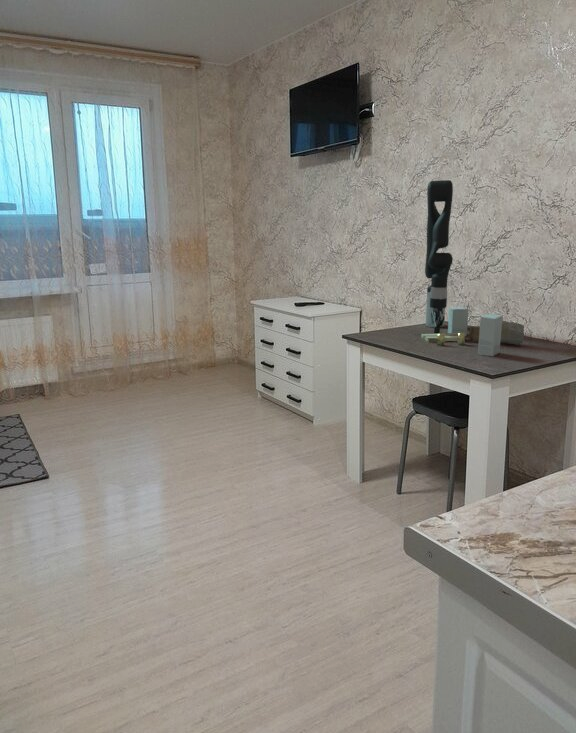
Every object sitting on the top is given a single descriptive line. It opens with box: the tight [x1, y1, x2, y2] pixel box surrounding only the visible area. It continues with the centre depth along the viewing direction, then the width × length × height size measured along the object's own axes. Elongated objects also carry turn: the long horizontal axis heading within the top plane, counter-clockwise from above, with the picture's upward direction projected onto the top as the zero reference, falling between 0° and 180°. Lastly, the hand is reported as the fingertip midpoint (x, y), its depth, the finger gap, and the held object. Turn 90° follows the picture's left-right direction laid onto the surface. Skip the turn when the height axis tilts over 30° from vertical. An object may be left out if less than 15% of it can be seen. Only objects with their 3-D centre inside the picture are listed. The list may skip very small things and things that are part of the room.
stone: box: [500, 320, 525, 346], centre depth 257 cm, size 14×6×10 cm, turn 30°
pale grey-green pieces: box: [420, 332, 458, 343], centre depth 270 cm, size 10×16×2 cm, turn 96°
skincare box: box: [477, 313, 504, 357], centre depth 239 cm, size 8×7×16 cm
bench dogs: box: [436, 332, 466, 346], centre depth 258 cm, size 3×12×5 cm, turn 95°
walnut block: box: [469, 325, 480, 342], centre depth 268 cm, size 5×5×6 cm
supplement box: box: [447, 306, 469, 337], centre depth 280 cm, size 7×7×13 cm
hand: (436, 334), depth 277 cm, fingers closed
